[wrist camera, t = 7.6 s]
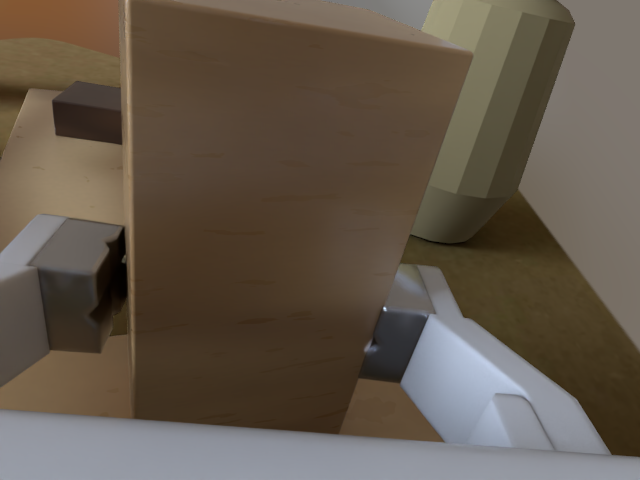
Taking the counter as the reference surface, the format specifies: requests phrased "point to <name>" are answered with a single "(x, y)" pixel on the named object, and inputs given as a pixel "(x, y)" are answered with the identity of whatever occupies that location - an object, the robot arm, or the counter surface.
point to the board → (56, 172)
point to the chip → (89, 112)
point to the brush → (261, 216)
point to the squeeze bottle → (491, 107)
